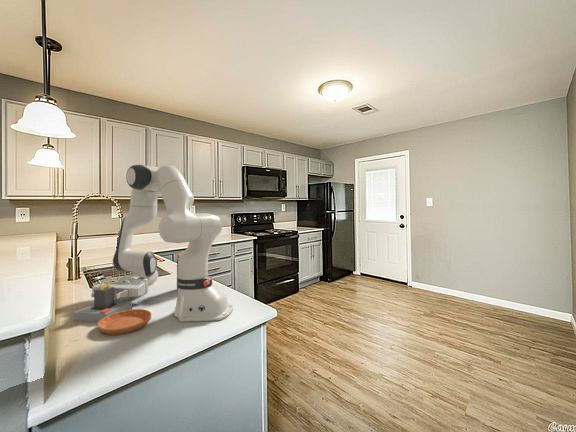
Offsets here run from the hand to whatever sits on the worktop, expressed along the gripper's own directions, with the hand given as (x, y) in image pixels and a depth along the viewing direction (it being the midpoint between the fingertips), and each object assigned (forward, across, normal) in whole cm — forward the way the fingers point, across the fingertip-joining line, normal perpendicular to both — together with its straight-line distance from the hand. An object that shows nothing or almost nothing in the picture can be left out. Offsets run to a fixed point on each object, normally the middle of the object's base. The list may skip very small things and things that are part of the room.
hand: (104, 295), depth 99 cm
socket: (0, 0, +7) cm, 7 cm away
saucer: (+8, +15, +8) cm, 19 cm away
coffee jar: (-32, +18, +7) cm, 37 cm away
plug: (0, 0, +7) cm, 7 cm away
